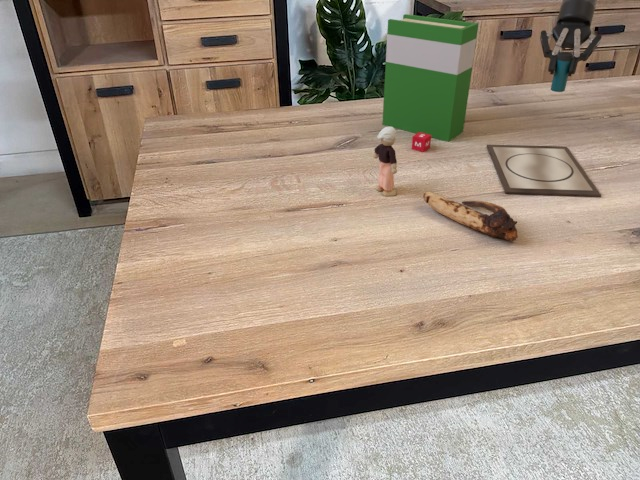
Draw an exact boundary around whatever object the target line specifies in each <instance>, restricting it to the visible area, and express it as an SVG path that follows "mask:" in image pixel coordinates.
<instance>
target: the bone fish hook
mask: <svg viewBox="0 0 640 480" xmlns="http://www.w3.org/2000/svg"><path fill="white" fill-rule="evenodd" d="M422 197H423V198H422V199H423V200H424V201H423V202H425V203H426V204H427V205H428V206H430V208H432V209H433V210H434V211H435V212H437V213H439V214H440V215H443V216H444V217H447V218H448V219H451V220H453V221H455V222H457V223H458V224H461V225H464V226H466V227H468V228H471V229H473V230H475V231H478V232H480V233H483V234H485V235H488V236H491V237H493V238H499V239H503V240H505V241H510V242H514V241H516V240H517V239H518V238H519V236H518V230H517V227H516V225H517V224H518V221H516V220H514V219H513V217H511V216H510V214H509V213H508V211H507V210H506V209H505V208H504V207H503V206H501V205H499V204H498V205H497V204H496V203H492V202H488V201H483V200H463V201H461V203H460V202H457V201H454V200H452V199H449V198H447V197H445V196H442V195H440V194H438V193H434V192H432V191H425V192H424V193H423V196H422ZM468 206H469V207H468ZM471 207H473V208H474V207H476V208H482V209H486V210H487V211H490V212H492V213H490V214H487V213H482V212H480V211H477V210H476V209H473V208H471Z"/></svg>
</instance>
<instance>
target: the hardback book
mask: <svg viewBox="0 0 640 480" xmlns="http://www.w3.org/2000/svg"><path fill="white" fill-rule="evenodd" d="M478 30H479V23H478V22H470V21H463V20H455V19H445V18H439V17H430V16H424V15H415V14H407V13H405V14H403V17H402V19H393V18H388V19H387V30H386V31H387V34H386V50H385V51H386V53H385V66H384V67H385V68H384V69H385V71H384V87H383V88H384V89H383V105H382V106H383V107H382V122H381V123H382V126H385V127H393V128H394V129H397V130H402V131H406V132H409V133H413V134H417V133H418V132H421V133H425V134H429V135H431V139H432V138H433V139H436V140H439V141H444V142H450V141H452V140H453V139H454V138H456V137H458V136H459V135H461V134H462V133H463V132H464V129H465V123H466V116H467V115H466V114H467V108H468V100H469V93H470V86H471V80H472V72H473V65H474V59H475V58H474V57H475V52H476V51H475V50H476V46H477V45H476V44H477V36H478Z"/></svg>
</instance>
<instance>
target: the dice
mask: <svg viewBox="0 0 640 480" xmlns="http://www.w3.org/2000/svg"><path fill="white" fill-rule="evenodd" d="M431 142H432V137H431V135H429V134H425V133H421V132H418V133H414V135H413V136H412V139H411V150H414V151H417V152H422V153H425V152H426V151H428V150H429V149H431V144H432V143H431Z"/></svg>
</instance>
